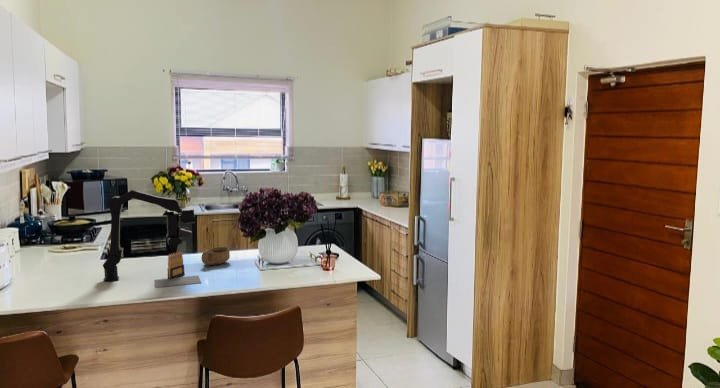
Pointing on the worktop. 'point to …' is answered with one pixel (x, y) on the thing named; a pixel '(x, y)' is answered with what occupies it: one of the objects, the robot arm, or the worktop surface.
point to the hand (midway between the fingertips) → (174, 255)
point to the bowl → (216, 255)
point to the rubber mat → (177, 281)
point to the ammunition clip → (175, 265)
